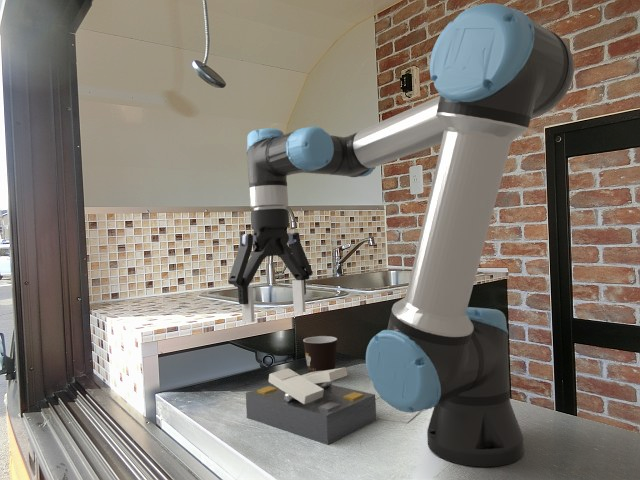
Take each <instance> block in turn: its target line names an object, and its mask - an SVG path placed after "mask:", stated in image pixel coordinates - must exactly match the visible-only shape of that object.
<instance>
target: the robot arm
mask: <svg viewBox="0 0 640 480" xmlns="http://www.w3.org/2000/svg"><path fill="white" fill-rule="evenodd" d="M574 73H575V60H574V57H573V53H572V51H571V49H570V47H569V45H568V44H567V43H566V41H565V40H564V39H563V38H562V37H561V36H560V35H558V34H556V33H555V32H553V31H551V30H548V29H547V28H545V27H544V26H542V25H541V24H540V23H537V22H536V21H534V20H532V19H531V18H530V17H529V16H528V15H527V14H525V12H523V11H521V10H520V9H519V10H518V9H517V8H514V7H513V8H512V7H510V6H507V5H504V4H501V3H496V2H495V3H494V2H487V3H481V4H476V5H474V6H471V7H469V8H467V9H465V10H464V11H462V12H460V13H459V14H458V15H457V16H456V17H455V18H454V20H451V21H449V22H448V24H447V25H446V26H445V27H444V29H442V31H441V33H440V34H439V36H438V37H437V39H436V40H435V44H434V45H433V48H432V51H431V54H430V58H429V75H430V79H431V81H433V86H434V88H435V89H436V91H437V92H438V94H439V95H438V96H435V97H434V98H432V99H429V100H427V101H424V102H422V103H420V104H418V105H415V106H413V107H411V108H409V109H407V110H405V111H402V112H400V113H398V114H395V115H393V116H391V117H389V118H386V119H384V120H381V121H379V122H378V123H376V124H375V123H374V124H372V125H371V126H368V127H366V128H364V129H362V130H359V131H357V132H355V133H353V134H350V135H347V136H337V135H330V134H329V132H326V130H324V128H322V127H321V126H317V125H316V126H307V127H301V128H299V129H296V130H294V131H291V132H288V133H284V132H283V131H282V130H280V129H277V128H271V127H270V128H267V127H266V128H260V129H253V130H251V131H250V132H249V133H248V134H247V137H246V145H247V147H246V158H247V171H248V174H247V175H248V183H249V184H248V186H249V206H250V208H251V209H253V210H251V212H250V226H251V229H252V230H253V234H252V233H245V234H244V233H243V234H242V233H241V235H239V245H238V250H237V253H236V256H235V259H234V262H233V264H232V267H231V271H230V274H229V277H228V280H227V282H228V284H229V285H233V286H234V287H237V295H238V296H237V297H238V303H239V304H238V305H240V306H241V319H242V322H247V323H254V322H255V321H256V319H255V303H254V300H255V299H254V287H253V286H250V284H251V283H252V280H253V279H254V277H255V275H256V274H257V272H258V269H259V268H260V266H261V265H262V263H263V261H264V259H266V258H267V257H275V256H277V257H279V258H280V259H281V261H282V262H283V263H284V265H285V267H287V269H288V270H289V272H290V273H291V274H292V276H293V278H294V279H292V281H291V283H292V284H291V287H292V303H293V312H296V313H305V312H307V311H306V298H305V296H306V294H307V285H306V280H310V277H312V276H313V270H312V267H311V265H310V263H309V259H308V257H307V255H306V252H305V251H304V248H303V246H302V243H301V237H300V233H299V232H288V228H289V227H290V214H289V213H290V212H289V210H288V209H287V207H289V195H288V182H287V176H291V175H296V174H302V173H303V174H305V173H306V174H316V175H329V176H342V177H350V178H359V177H367V176H369V175H371V174H372V173H373V172H374V170H375V169H376V167H380V166H382V165H384V164H387V163H390V162H394V161H396V160H398V159H401V158H404V157H407V156H411V155H413V154H416V153H418V152H421V151H424V150H427V149H430V148H432V147H436V146H438V145H440V147H439V152H438V156H437V160H436V165H435V169H434V172H433V173H434V174H433V178H432V181H431V186H430V191H429V195H428V199H427V204H426V207H425V212H424V217H423V220H422V225H421V229H420V234H419V238H418V242H417V247H416V251H415V255H414V260H413V264H412V269H411V273H410V277H409V281H408V285H407V291H406V294H405V297H403V298H401V299H400V300H398V301H396V302H395V303H393V305H392V307H391V311H390V316H389V320H388V326H387V328H386V329H383V330H381V331H379V332H378V333H377V334H376V335H373V337H372V338H371V339H370V341H369V343H368V345H367V347H366V352H365V367H366V371H367V374H368V377H369V380H370V381H371V382H372V385H373V388H374V390H375V392H376V393H377V394H378V396H379V395H380V397H379V398H381V399H382V400H383V401H384V402H385V403H386V404H388V406H390V407H391V408H394V409H395V410H397V411H400V412H403V413H407V414H408V413H418V412H419V411H421V410H423V411H425V410H431V409H432V408H433V410H432V412H431V417H430V418H429V419H430V420H429V423H428V427H427V432H426V433H427V434H426V435H427V436H426V437H427V446H428V449H429V450H430V451H431V453H433V454H434V455H436V456H437V457H439V458H441V459H444V460H445V461H447V462H451V463H454V464H459V465H463V466H464V465H465V466H469V467H479V468H480V467H482V468H483V467H485V468H486V467H498V466H499V467H500V466H505V465H509V464H512V463H515V462H517V461H519V460H520V459H521V458H522V457H523V456H524V453H525V448H524V446H525V443H524V440H525V439H524V435H523V433H522V430H521V427H520V424H519V422H518V419H517V417H516V414H515V411H514V409H513V406H512V404H511V395H510V393H511V392H510V368H509V366H510V364H509V343H508V342H509V340H508V339H509V338H508V336H509V330H508V328H507V318H506V316H505V313H504V312H502V311H501V310H499V309H496V308H493V309H492V308H484V307H474V306H473V307H471V306H469V303H470V299H471V295H472V291H473V287H474V284H475V280H476V277H477V273H478V269H479V265H480V261H481V257H482V253H483V250H484V247H485V243H486V238H487V235H488V231H489V227H490V224H491V220H492V216H493V213H494V209H495V206H496V202H497V197H498V194H499V191H500V186H501V183H502V179H503V176H504V172H505V168H506V164H507V160H508V157H509V152H510V148H511V146H512V143H513V141H515V140H516V139H517V138H519V137H520V136H522V135H523V134H525V133H526V132H528V130H529V126H530V123H531V120H533V119H536V118H538V117H540V116H541V117H542V116H543V115H544V114H547V113H549V112H550V111H551V110H553V109H554V108H555V107H557V105H559V103H561V102H562V100H563V99H564V98H565V96H566V95H567V93H568V91H569V90H570V87H571V86H572V82H573V80H574ZM253 246H254V248H253Z"/></svg>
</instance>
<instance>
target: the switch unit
mask: <svg viewBox="0 0 640 480" xmlns="http://www.w3.org/2000/svg"><path fill="white" fill-rule="evenodd" d="M332 382H333V381H329V382H322V383H315V384H316V385H317V386H319V387H321V388H322V389H324V392H323V397H322V398H319V399H317V400H314V401H312V402H309V403H306V404H303V403H301V402H300V401H298V400H296V399H295V398H293V397H292V396H290V395H289V394H287V393H285V392H284V391H282V390H281V389H279V388H278V387H276V386H275V385H273V384H271V383H270V384H269V385H266V386H262V387H260V388H256V389H254V390H250V391H248V392H245V406H246V418H247V419H250V420H253V421H256V422H259V423H261V424H264V425H268V426H271V427H273V428H276V429H280V430H283V431H286V432H288V433H292V434H294V435H298V436H300V437H303V438H306V439H310V440H312V441H315V442H318V443H321V444H324V445H328V446H329V445H330V444H332V443H335V442H337V441H338V440H340V439H342V438H344V437H346V436H348V435H350V434H352V433H354V432H356V431H358V430H360V429H362V428H365V427H366V426H369V425H370V424H372V423H374V422H376V421H377V418H376V417H377V405H376V404H377V403H376V400H377V399H375V398H376V394H374V393H370V392H365V391H361V390H356V389H351V388H348V387H343V386H338V385H334V384H333V383H332Z"/></svg>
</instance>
